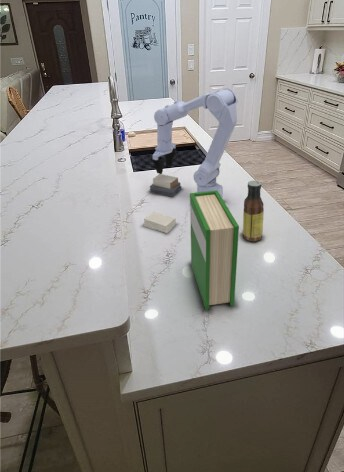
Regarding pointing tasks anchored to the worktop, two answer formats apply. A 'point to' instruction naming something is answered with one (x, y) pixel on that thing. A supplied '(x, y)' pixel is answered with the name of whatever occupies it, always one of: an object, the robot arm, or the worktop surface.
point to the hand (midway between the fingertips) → (164, 169)
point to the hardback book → (213, 247)
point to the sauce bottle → (253, 213)
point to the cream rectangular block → (159, 222)
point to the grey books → (166, 190)
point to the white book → (165, 181)
